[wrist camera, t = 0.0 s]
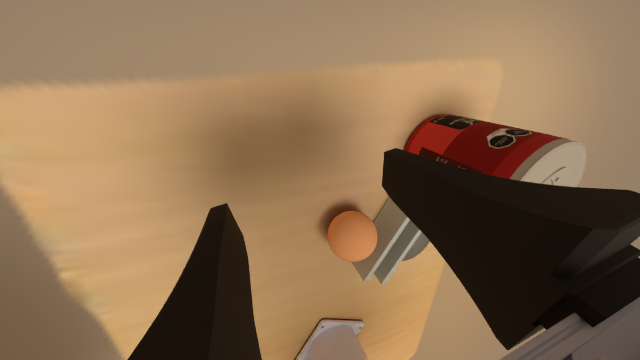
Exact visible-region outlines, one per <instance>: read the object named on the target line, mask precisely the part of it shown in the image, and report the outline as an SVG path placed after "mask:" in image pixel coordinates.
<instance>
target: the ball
mask: <svg viewBox="0 0 640 360" xmlns="http://www.w3.org/2000/svg"><path fill="white" fill-rule="evenodd" d="M328 242H329V245H330V247H331V249H332V250H333V252H334V253H335V254H336V255H337V256H338V257H340V258H341V259H344V260H346V261H351V262H356V261H361V260H363V259H365V258H367V257H368V256H369V255H370V254H371V253H372V252H373V251H374V249H375V247H376V244H377V230H376V227H375V225H374V223H373V222H372V220H371V219H370V218H369V217H368V216H366V215H365V214H363V213H361V212H357V211H346V212H343V213H341V214H339V215H338V216H336V217H335V218H334V219H333V221H332V222H331V224H330V226H329V229H328Z"/></svg>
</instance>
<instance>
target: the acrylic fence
mask: <svg viewBox="0 0 640 360" xmlns="http://www.w3.org/2000/svg"><path fill="white" fill-rule="evenodd" d="M373 223H374V225H375V227H376V230H377V244H376V247H375V249H374V251H373V252H372V253H371V254H370V255H369V256H368V257H367V258H365V259H363V260H361V261H356V262H352V263H353V265H354V266H355V268H356V270H357V271H358V273H359V274H360V276H361V277H362V279H363V281H366V282H368V281H369V279H370V278H371V276H372V275H373V273H374V274H375V276H376V277H377V278H378V280H379V281H380V283H381V284H385V283H386V282H387V281H388V279H389V278H390V276H391V275H392V274H393V272H394V271H395V269H396V268H397V266H398V265H399V264H400V262H401V261H402V259H403V258H404V257H405V255H406V254H407V252H408V251H409V249H410V248H411V247H412V245H413V244H414V242H415V241H416V239H417V238H418V237H419V235H420V234H421V231H420V230H419V229H418V228H417V227H416V225H415V224H414V223H413V222H412V221H411V220H410V219H409V218H408V217H407V216H406V215H405V214H404V213H403V212H402V211H401V210H400V209H399V208H398V206H397V205H396V204H395V203H394V202H393V201H392V199H391V198H390V197H389V199H388V200H387V202H386V203H385V205H384V206H383V208H382V210H381V211H380V213H379V214H378V216H377V217H376V219H375V221H374V222H373Z"/></svg>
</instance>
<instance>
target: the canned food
mask: <svg viewBox="0 0 640 360" xmlns="http://www.w3.org/2000/svg"><path fill="white" fill-rule="evenodd" d="M405 151H408V152H411V153H414V154H417V155H420V156H423V157H427V158H430V159H433V160H436V161H439V162H442V163H445V164H449V165H452V166H456V167H459V168H463V169H467V170H470V171H474V172H478V173H482V174H487V175H492V176H497V177H502V178H507V179H513V180H519V181H526V182H533V183H540V184H548V185H558V186H569V187H577V185H578V183H579V181H580V179H581V177H582V174H583V172H584V168H585V164H586V150H585V148H584V146H583V145H582V144H580V143H578V142H574V141H571V140H569V139H566V138H561V137H556V136H552V135H548V134H543V133H539V132H534V131H529V130H524V129H519V128H514V127H509V126H505V125H500V124H495V123H490V122H485V121H480V120H475V119H471V118H466V117H461V116H456V115H448V114H447V115H440V116H435V117H432V118H430V119H428V120H427V121H425V122H423V123H422V124H421V125H420V126H419V127H418V128H417V129H416V130H415V131H414V133H413V134H412V136H411V137H410V139H409V141H408V143H407V145H406V148H405Z"/></svg>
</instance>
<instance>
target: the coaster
mask: <svg viewBox="0 0 640 360" xmlns="http://www.w3.org/2000/svg"><path fill="white" fill-rule="evenodd" d="M429 242H430V241H429V239H428V238H427V237H426V236H425V235H424V234H423V233H422V232H421V234H420V235H419V237H418V238H417V239H416V241H415V242H414V244H413V245H412V247H411V248H410V249H409V251H408V252H407V254H406V255H405V257H404V258H403V259H402V261H405V260H409V259H411V258H413V257H415V256H416V255H418V254H419V253H420V252H421V251H423V250H424V248H425V247H426V246H427V245H428V243H429Z"/></svg>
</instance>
